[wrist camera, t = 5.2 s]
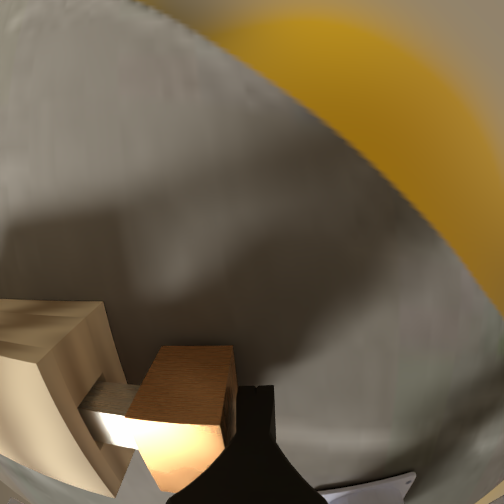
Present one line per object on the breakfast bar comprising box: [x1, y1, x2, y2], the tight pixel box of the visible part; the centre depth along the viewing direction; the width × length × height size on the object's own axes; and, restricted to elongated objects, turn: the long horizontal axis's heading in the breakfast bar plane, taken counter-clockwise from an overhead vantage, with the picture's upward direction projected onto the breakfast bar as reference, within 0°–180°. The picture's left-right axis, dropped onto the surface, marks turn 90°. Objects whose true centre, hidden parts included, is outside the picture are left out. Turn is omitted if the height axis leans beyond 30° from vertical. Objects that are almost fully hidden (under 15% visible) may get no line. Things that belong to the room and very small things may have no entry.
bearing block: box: [0, 299, 135, 498], centre depth 11 cm, size 9×8×5 cm
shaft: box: [77, 345, 238, 493], centre depth 11 cm, size 16×4×4 cm, turn 94°
